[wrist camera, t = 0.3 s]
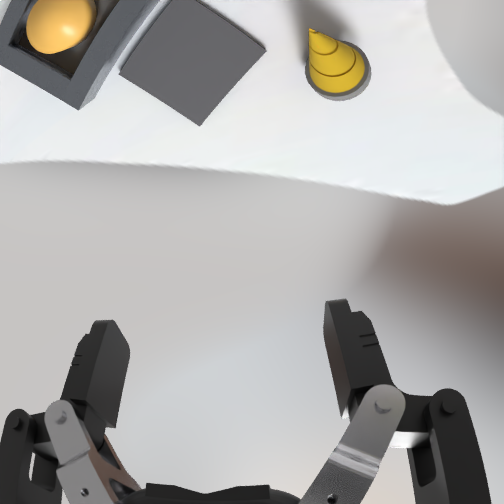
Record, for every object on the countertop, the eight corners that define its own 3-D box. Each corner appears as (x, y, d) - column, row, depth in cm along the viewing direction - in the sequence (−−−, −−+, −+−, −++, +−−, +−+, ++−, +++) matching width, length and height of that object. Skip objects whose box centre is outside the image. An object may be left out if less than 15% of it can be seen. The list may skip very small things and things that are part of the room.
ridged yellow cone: (312, 104, 27) (262, 58, 18) (327, 55, 26) (284, -3, 17) (367, 118, 25) (339, 70, 16) (382, 66, 23) (358, 3, 15)
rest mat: (181, -9, 19) (179, -9, 18) (266, 50, 23) (266, 51, 23) (120, 73, 23) (118, 74, 23) (200, 124, 28) (199, 126, 27)
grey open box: (67, -57, 13) (48, -61, 11) (167, -10, 19) (157, -13, 16) (8, 49, 19) (-13, 57, 17) (94, 98, 25) (78, 110, 22)
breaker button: (61, -19, 15) (47, -20, 13) (108, 3, 18) (97, 4, 16) (31, 35, 18) (16, 39, 16) (75, 58, 20) (62, 64, 19)
